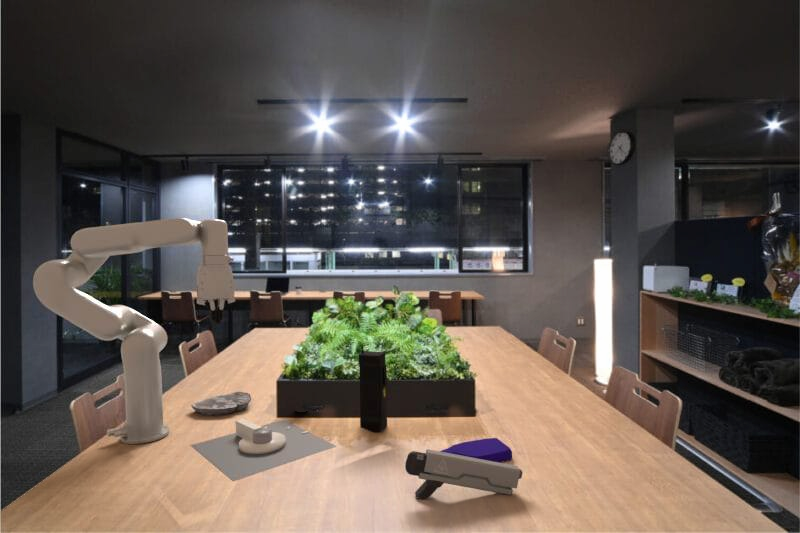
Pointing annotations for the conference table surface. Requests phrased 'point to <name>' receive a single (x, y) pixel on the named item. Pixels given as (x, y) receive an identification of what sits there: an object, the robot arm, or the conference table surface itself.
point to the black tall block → (373, 391)
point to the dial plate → (242, 465)
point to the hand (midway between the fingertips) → (216, 322)
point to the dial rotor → (258, 438)
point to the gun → (460, 472)
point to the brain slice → (222, 404)
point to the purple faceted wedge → (482, 450)
